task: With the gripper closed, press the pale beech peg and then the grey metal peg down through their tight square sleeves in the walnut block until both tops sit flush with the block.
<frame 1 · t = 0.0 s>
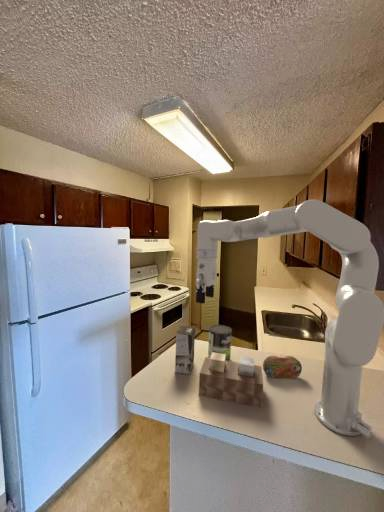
hand: (205, 299, 86), 31 cm above the countertop, tool pointing down, fingers open, 9 cm apart
beech peg: (217, 366, 82), point 8 cm above the countertop, slide at 0.0 cm
sleeve block: (230, 390, 82), on the countertop
coffee can: (219, 359, 103), on the countertop
metal peg: (245, 371, 80), point 8 cm above the countertop, slide at 0.0 cm
coffee box: (184, 367, 96), on the countertop
tin: (281, 377, 91), on the countertop
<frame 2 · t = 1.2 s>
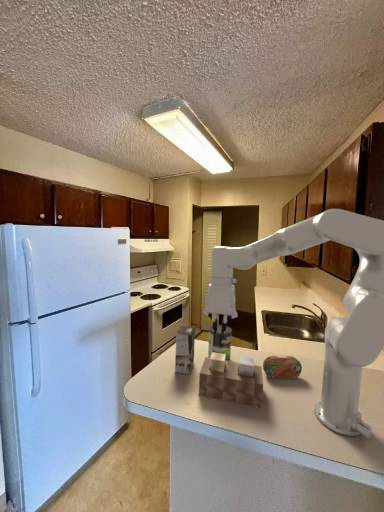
hand: (219, 331, 81), 21 cm above the countertop, tool pointing down, fingers closed
nothing on the countertop moved.
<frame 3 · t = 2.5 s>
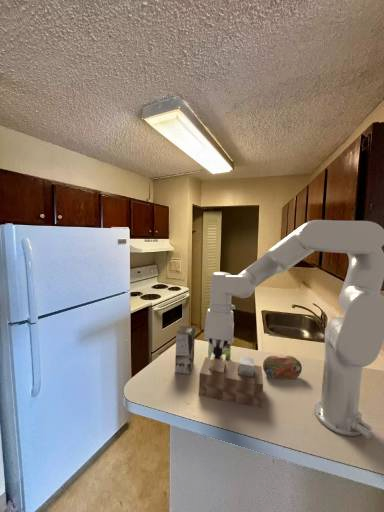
hand: (217, 356, 82), 12 cm above the countertop, tool pointing down, fingers closed
beech peg: (217, 367, 82), point 8 cm above the countertop, slide at 0.2 cm, touching gripper
everything else where it was.
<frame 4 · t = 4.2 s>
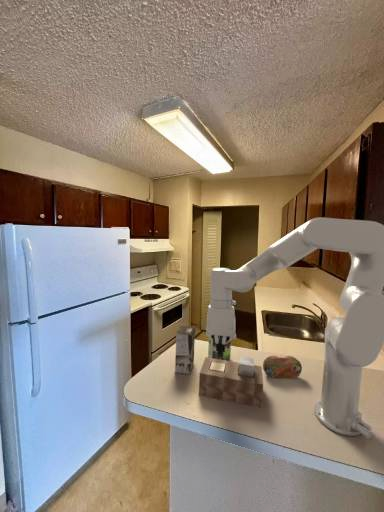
hand: (220, 353, 82), 13 cm above the countertop, tool pointing down, fingers closed
beech peg: (217, 376, 83), point 4 cm above the countertop, slide at 3.8 cm
everything else where it was.
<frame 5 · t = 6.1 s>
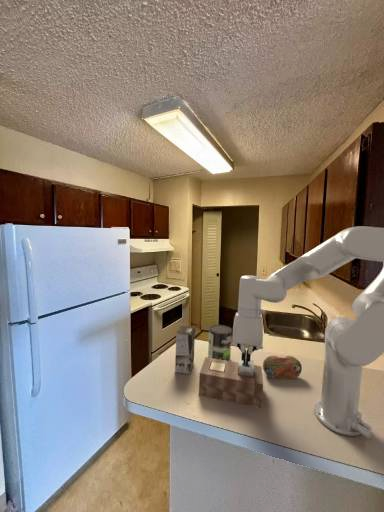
hand: (245, 362, 80), 11 cm above the countertop, tool pointing down, fingers closed
metal peg: (245, 373, 80), point 7 cm above the countertop, slide at 0.7 cm, touching gripper
everything else where it was.
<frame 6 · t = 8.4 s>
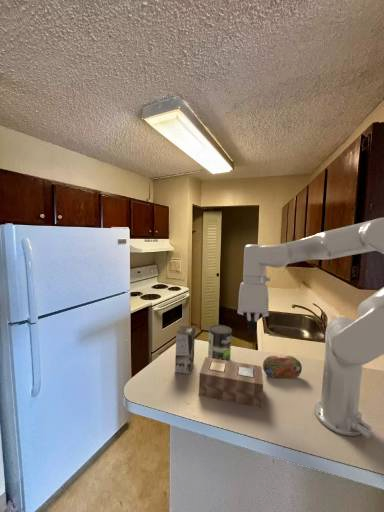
hand: (252, 331, 81), 22 cm above the countertop, tool pointing down, fingers closed
metal peg: (245, 382, 80), point 4 cm above the countertop, slide at 3.9 cm
everything else where it was.
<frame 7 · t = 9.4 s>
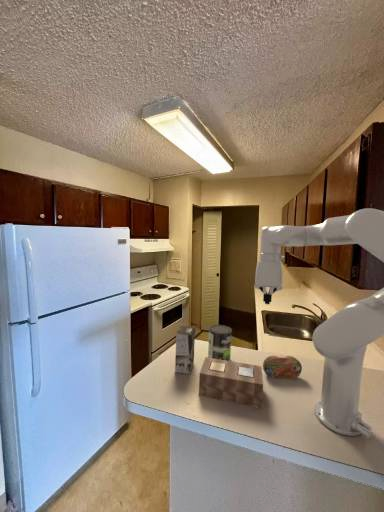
hand: (267, 303, 91), 29 cm above the countertop, tool pointing down, fingers closed
nothing on the countertop moved.
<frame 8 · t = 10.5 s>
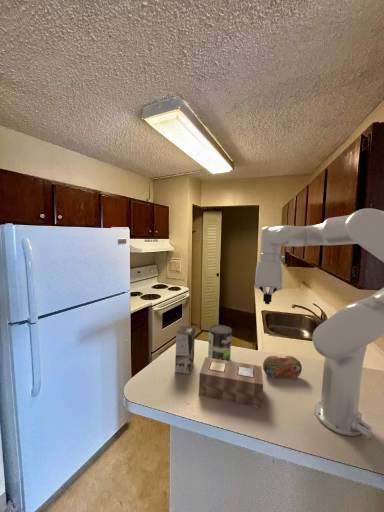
hand: (267, 303, 91), 29 cm above the countertop, tool pointing down, fingers closed
nothing on the countertop moved.
at the end: beech peg slide at 3.8 cm; metal peg slide at 3.9 cm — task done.
